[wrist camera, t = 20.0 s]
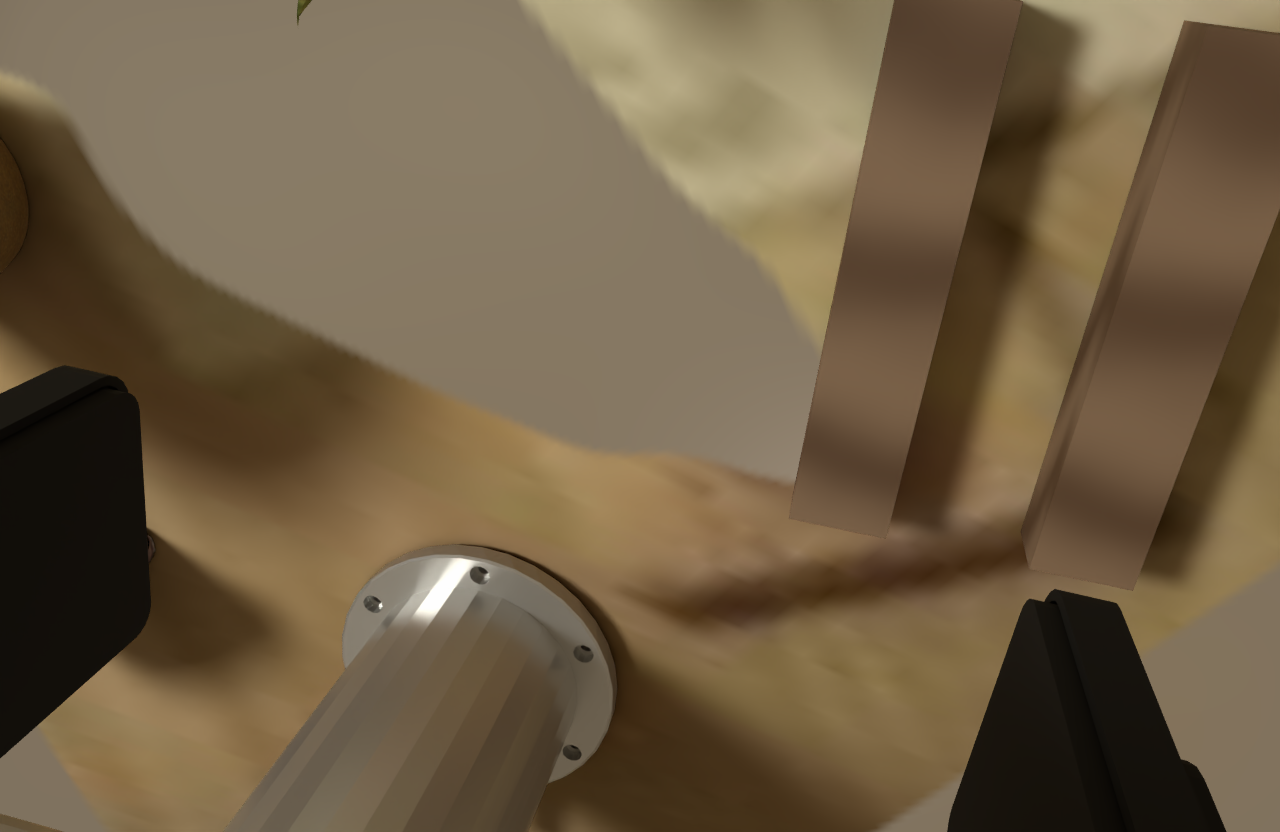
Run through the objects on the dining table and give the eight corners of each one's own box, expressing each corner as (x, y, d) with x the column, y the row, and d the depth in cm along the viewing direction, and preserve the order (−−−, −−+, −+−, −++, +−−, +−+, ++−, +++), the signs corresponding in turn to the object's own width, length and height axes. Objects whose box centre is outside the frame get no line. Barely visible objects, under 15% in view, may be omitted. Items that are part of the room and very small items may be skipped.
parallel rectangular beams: (1118, 552, 38) (1133, 590, 36) (794, 485, 40) (788, 518, 38) (1308, 37, 31) (1343, 43, 28) (898, -18, 32) (898, -16, 30)
